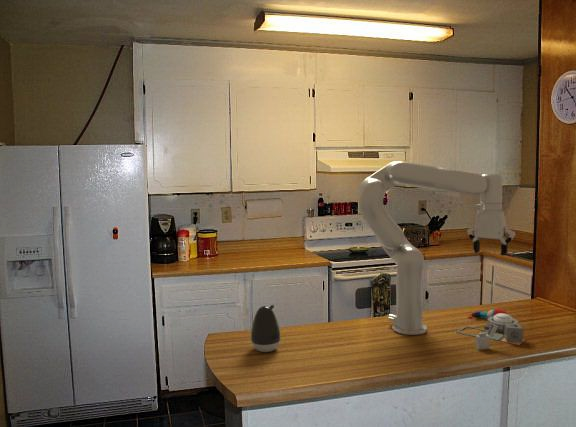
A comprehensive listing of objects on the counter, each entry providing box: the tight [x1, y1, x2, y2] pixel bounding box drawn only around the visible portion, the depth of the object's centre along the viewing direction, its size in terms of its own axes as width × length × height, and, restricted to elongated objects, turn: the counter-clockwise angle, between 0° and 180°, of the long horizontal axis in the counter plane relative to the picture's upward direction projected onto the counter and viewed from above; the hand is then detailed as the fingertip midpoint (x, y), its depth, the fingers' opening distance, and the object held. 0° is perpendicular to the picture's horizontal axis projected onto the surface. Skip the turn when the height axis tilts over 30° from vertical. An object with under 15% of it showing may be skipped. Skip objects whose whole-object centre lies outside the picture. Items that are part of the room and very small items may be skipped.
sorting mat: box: [456, 325, 525, 346], centre depth 174 cm, size 21×8×1 cm, turn 47°
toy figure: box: [467, 308, 509, 319], centre depth 192 cm, size 8×5×15 cm
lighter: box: [475, 324, 498, 351], centre depth 163 cm, size 7×2×8 cm, turn 101°
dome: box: [494, 313, 513, 324], centre depth 182 cm, size 6×6×4 cm
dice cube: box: [503, 323, 524, 344], centre depth 169 cm, size 5×5×5 cm
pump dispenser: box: [250, 304, 282, 353], centre depth 166 cm, size 10×10×15 cm
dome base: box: [483, 316, 520, 334], centre depth 182 cm, size 10×10×3 cm
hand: (490, 253), depth 180 cm, fingers open, 9 cm apart
